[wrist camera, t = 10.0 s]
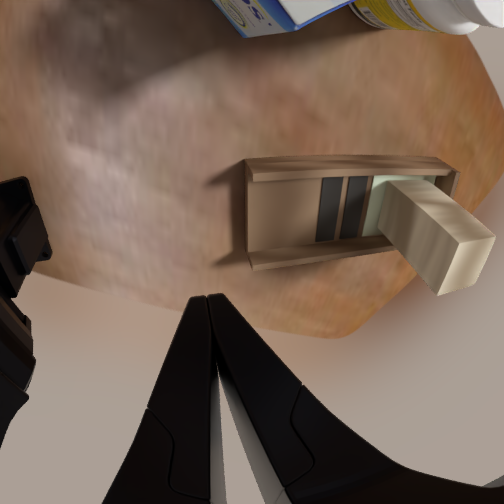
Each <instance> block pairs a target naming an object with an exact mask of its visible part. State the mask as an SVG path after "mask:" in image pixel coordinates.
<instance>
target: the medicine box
mask: <svg viewBox="0 0 504 504" xmlns="http://www.w3.org/2000/svg"><path fill="white" fill-rule="evenodd" d="M212 1H213V2H214V4H215V5H216V6H217V7H218V8H219V9H220V11H221V12H222V13H223V14H224V15H225V16H226V18H227V19H228V20H229V21H230V22H231V24H232V25H233V26H234V27H235V29H236V30H237V31H238V32H239V33H240V35H241V36H242V37H243V38H250V37H256V36H262V35H269V34H278V33H284V32H292V31H297V30H299V29H300V28H302V27H303V26H305V25H307V24H309V23H311V22H313V21H315V20H316V19H318V18H320V17H322V16H324V15H326V14H328V13H330V12H332V11H334V10H336V9H339V8H341V7H343V6H345V5H347V4H349V3H351V2H354V1H356V0H212Z"/></svg>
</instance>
